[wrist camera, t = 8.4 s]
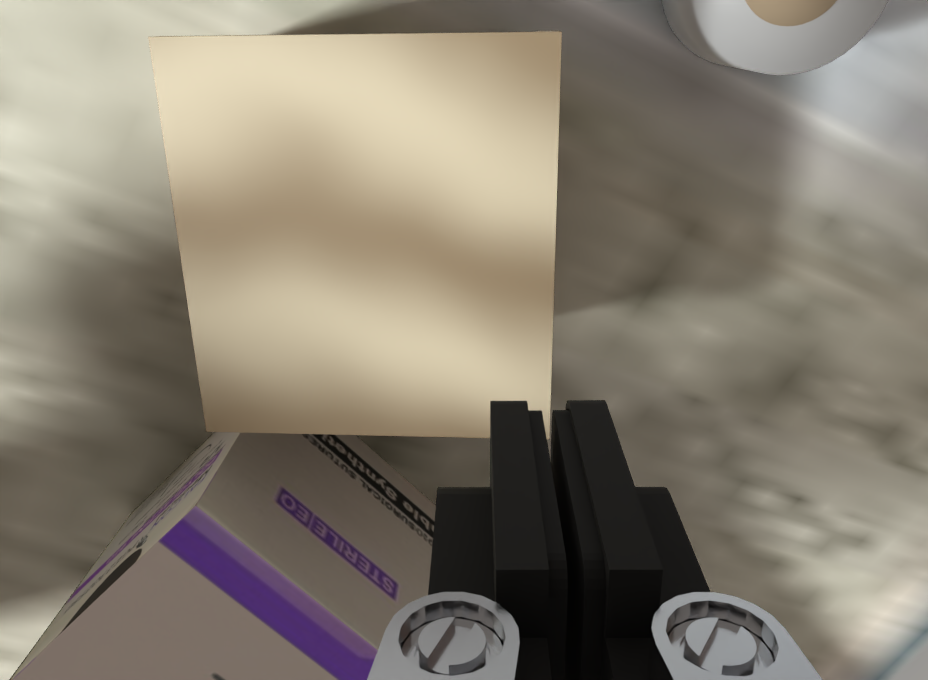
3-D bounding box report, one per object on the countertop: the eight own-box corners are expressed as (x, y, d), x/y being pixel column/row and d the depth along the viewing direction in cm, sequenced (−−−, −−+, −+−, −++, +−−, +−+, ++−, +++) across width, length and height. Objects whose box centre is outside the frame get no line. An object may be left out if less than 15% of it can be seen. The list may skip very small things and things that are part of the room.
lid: (547, 404, 27) (549, 439, 25) (231, 398, 28) (206, 431, 26) (557, 30, 23) (562, 31, 21) (183, 35, 24) (148, 36, 21)
